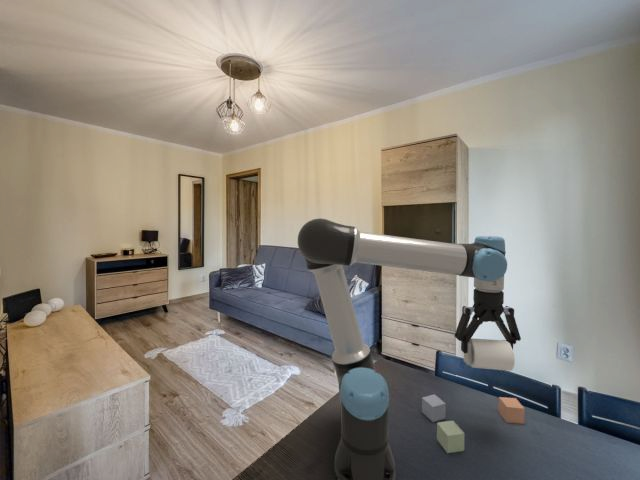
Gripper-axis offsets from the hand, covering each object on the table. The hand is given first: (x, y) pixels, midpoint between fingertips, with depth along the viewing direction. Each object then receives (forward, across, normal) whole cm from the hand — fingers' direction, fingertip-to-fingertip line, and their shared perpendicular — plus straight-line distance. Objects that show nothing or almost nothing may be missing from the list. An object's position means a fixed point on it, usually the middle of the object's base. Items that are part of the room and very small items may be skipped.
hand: (486, 363), depth 82 cm
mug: (+1, 0, 0) cm, 1 cm away
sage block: (+20, -13, -6) cm, 25 cm away
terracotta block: (+20, +11, +5) cm, 24 cm away
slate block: (+20, -13, +6) cm, 25 cm away
